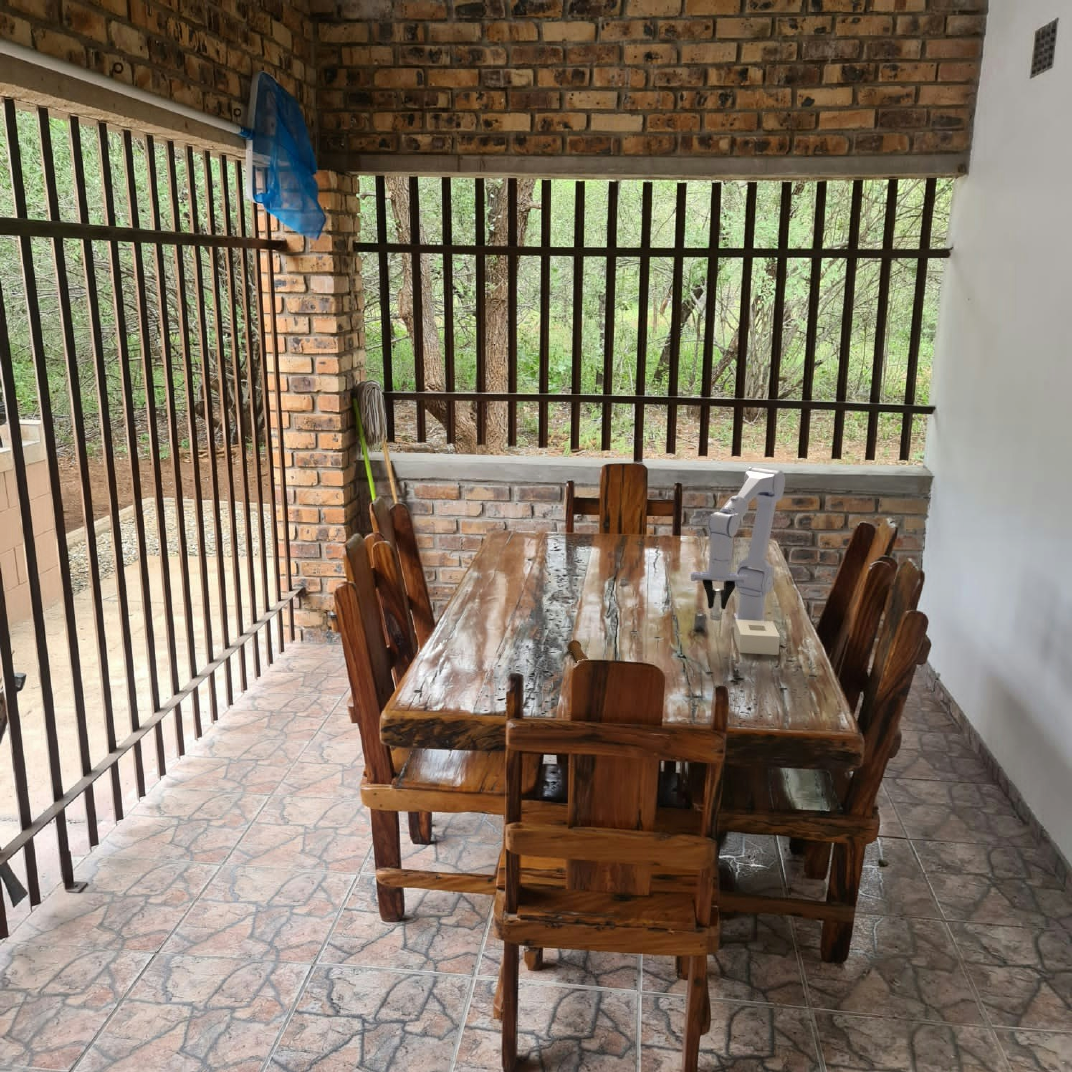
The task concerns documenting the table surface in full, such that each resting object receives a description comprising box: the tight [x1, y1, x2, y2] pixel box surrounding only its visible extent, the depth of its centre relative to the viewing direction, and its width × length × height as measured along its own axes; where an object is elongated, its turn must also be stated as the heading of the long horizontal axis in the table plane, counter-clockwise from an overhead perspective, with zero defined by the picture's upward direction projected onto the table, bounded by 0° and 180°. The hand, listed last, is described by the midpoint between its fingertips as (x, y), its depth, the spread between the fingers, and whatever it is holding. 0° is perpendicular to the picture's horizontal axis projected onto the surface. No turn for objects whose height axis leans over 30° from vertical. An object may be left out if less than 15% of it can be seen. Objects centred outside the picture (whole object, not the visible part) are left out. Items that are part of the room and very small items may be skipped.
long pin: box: [709, 587, 724, 622], centre depth 253 cm, size 3×3×8 cm
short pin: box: [693, 612, 707, 633], centre depth 265 cm, size 3×3×4 cm
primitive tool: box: [566, 639, 589, 662], centre depth 238 cm, size 19×6×4 cm, turn 14°
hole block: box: [733, 618, 781, 656], centre depth 254 cm, size 12×10×5 cm
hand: (716, 607), depth 253 cm, fingers closed on long pin, 3 cm apart
